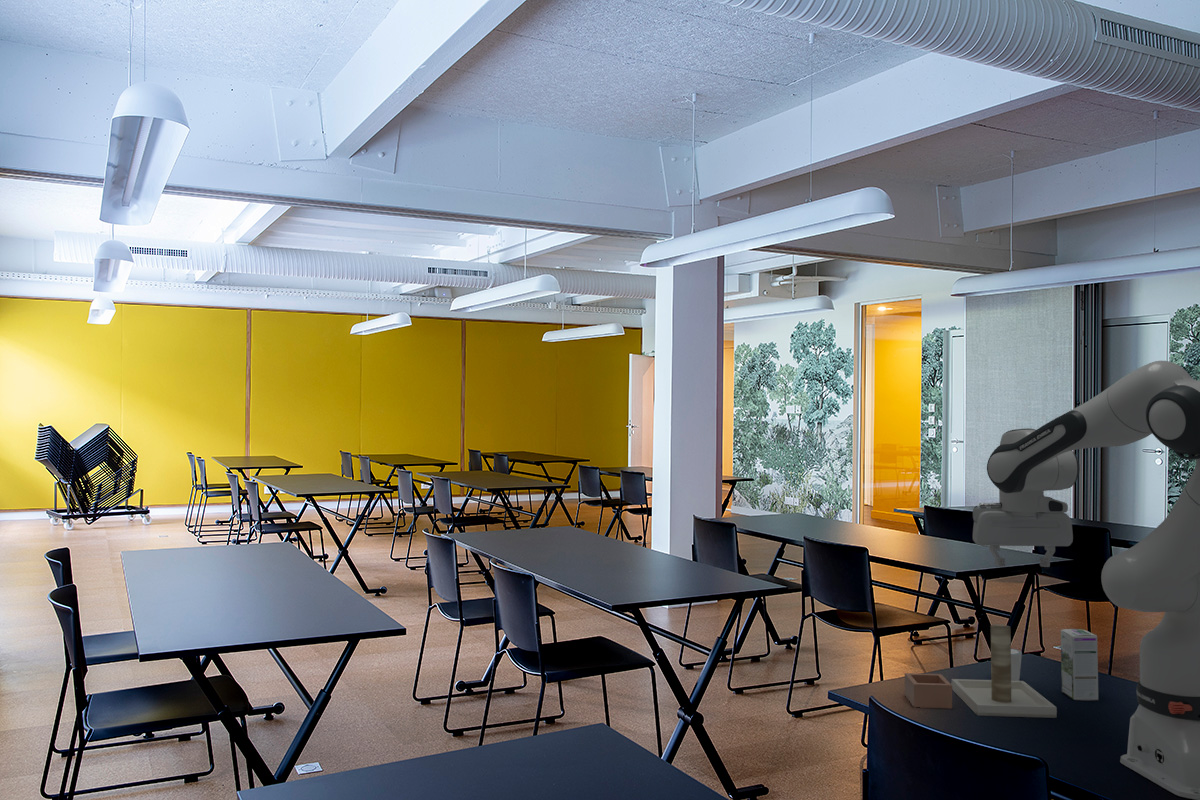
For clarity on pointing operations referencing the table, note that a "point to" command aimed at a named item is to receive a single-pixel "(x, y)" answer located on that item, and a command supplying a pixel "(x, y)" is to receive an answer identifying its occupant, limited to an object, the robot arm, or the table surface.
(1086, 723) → the table surface
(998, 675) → the olive grey ringed cylinder
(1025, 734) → the table surface
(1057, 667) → the table surface
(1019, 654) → the grey cup
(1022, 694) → the tray
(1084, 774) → the table surface
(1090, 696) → the syrup box
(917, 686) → the brown square sleeve
